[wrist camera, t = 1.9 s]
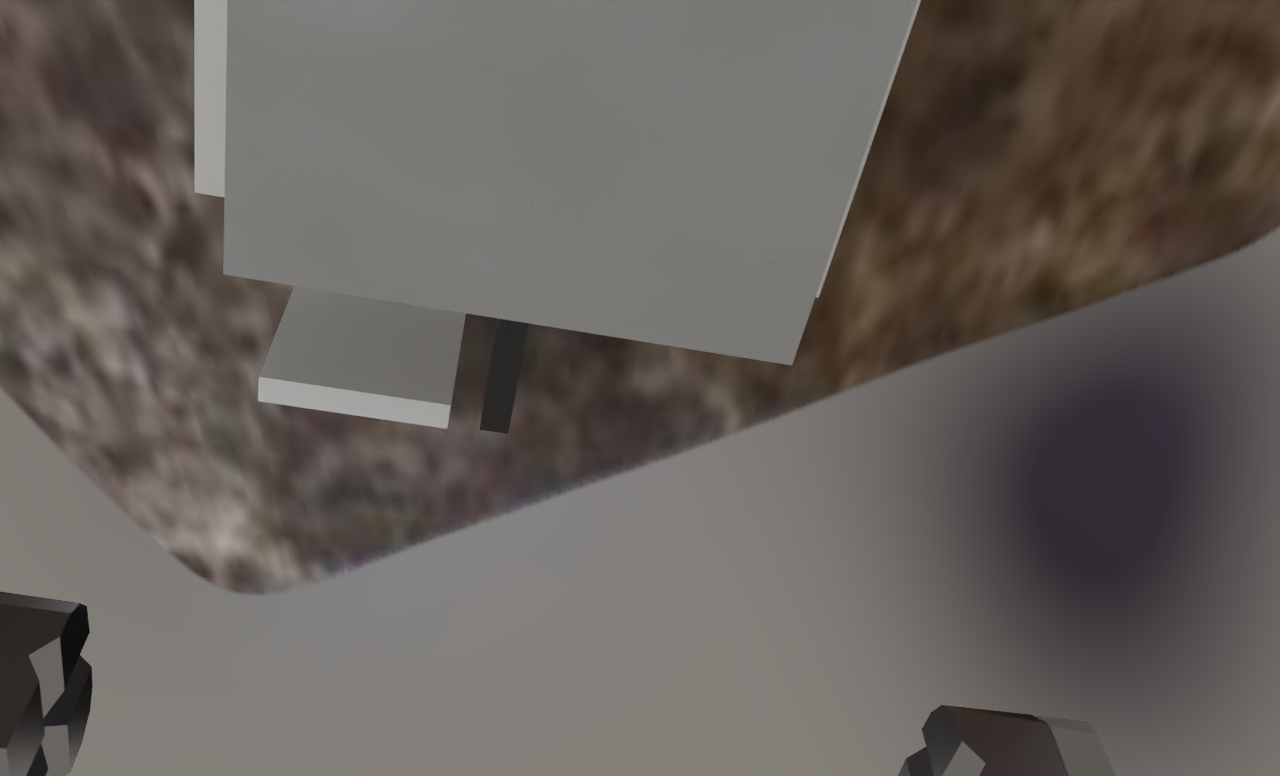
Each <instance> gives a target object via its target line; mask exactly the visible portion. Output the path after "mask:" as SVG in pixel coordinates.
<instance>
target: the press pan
mask: <svg viewBox="0 0 1280 776" xmlns="http://www.w3.org/2000/svg"><path fill="white" fill-rule="evenodd" d="M916 2H917V0H227V63H226V131H225V199H224V267H223V274H224V275H230V276H236V277H242V278H249V279H255V280H261V281H267V282H274V283H280V284H286V285H292V286H299V287H305V288H311V289H317V290H324V291H330V292H336V293H342V294H349V295H355V296H361V297H367V298H374V299H380V300H386V301H392V302H399V303H405V304H411V305H417V306H424V307H430V308H436V309H442V310H449V311H455V312H461V313H467V314H474V315H480V316H486V317H492V318H498V322H497V328H496V334H495V340H494V346H493V352H492V358H491V364H490V370H489V376H488V382H487V387H486V393H485V399H484V405H483V411H482V417H481V425H480V430H487V431H494V432H500V433H507V434H508V431H509V426H510V420H511V415H512V410H513V404H514V399H515V393H516V388H517V383H518V377H519V372H520V367H521V361H522V356H523V351H524V345H525V340H526V335H527V329H528V324H529V323H530V324H536V325H542V326H549V327H555V328H561V329H567V330H574V331H580V332H586V333H592V334H599V335H605V336H611V337H617V338H624V339H630V340H636V341H642V342H649V343H655V344H661V345H667V346H674V347H680V348H686V349H692V350H699V351H705V352H711V353H717V354H724V355H730V356H736V357H742V358H749V359H755V360H761V361H767V362H774V363H780V364H786V365H792V364H793V361H794V358H795V355H796V352H797V349H798V346H799V343H800V340H801V338H802V335H803V332H804V329H805V326H806V323H807V320H808V317H809V314H810V311H811V308H812V305H813V303H814V300H815V297H816V294H817V291H818V288H819V285H820V282H821V279H822V276H823V273H824V270H825V267H826V265H827V262H828V259H829V256H830V253H831V250H832V247H833V244H834V241H835V238H836V235H837V232H838V230H839V227H840V224H841V221H842V218H843V215H844V212H845V209H846V206H847V203H848V200H849V197H850V195H851V192H852V189H853V186H854V183H855V180H856V177H857V174H858V171H859V168H860V165H861V162H862V159H863V157H864V154H865V151H866V148H867V145H868V142H869V139H870V136H871V133H872V130H873V127H874V124H875V122H876V119H877V116H878V113H879V110H880V107H881V104H882V101H883V98H884V95H885V92H886V89H887V87H888V84H889V81H890V78H891V75H892V72H893V69H894V66H895V63H896V60H897V57H898V54H899V51H900V49H901V46H902V43H903V40H904V37H905V34H906V31H907V28H908V25H909V22H910V19H911V16H912V14H913V11H914V8H915V5H916Z"/></svg>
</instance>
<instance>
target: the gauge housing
mask: <svg viewBox="0 0 1280 776" xmlns="http://www.w3.org/2000/svg"><path fill="white" fill-rule="evenodd" d="M920 2H921V0H917V2H916V5H915V8H914V11H913V14H912V16H911V19H910V22H909V25H908V28H907V31H906V34H905V37H904V40H903V43H902V46H901V49H900V51H899V54H898V57H897V60H896V63H895V66H894V69H893V72H892V75H891V78H890V81H889V84H888V87H887V89H886V92H885V95H884V98H883V101H882V104H881V107H880V110H879V113H878V116H877V119H876V122H875V124H874V127H873V130H872V133H871V136H870V139H869V142H868V145H867V148H866V151H865V154H864V157H863V159H862V162H861V165H860V168H859V171H858V174H857V177H856V180H855V183H854V186H853V189H852V192H851V195H850V197H849V200H848V203H847V206H846V209H845V212H844V215H843V218H842V221H841V224H840V227H839V230H838V232H837V235H836V238H835V241H834V244H833V247H832V250H831V253H830V256H829V259H828V262H827V265H826V267H825V270H824V273H823V276H822V279H821V282H820V285H819V288H818V291H817V294H816V297H817V298H819V295H820V292H821V289H822V287H823V284H824V281H825V278H826V275H827V272H828V269H829V266H830V263H831V260H832V257H833V255H834V252H835V249H836V246H837V243H838V240H839V237H840V234H841V231H842V228H843V226H844V223H845V220H846V217H847V214H848V211H849V208H850V205H851V202H852V199H853V197H854V194H855V191H856V188H857V185H858V182H859V179H860V176H861V173H862V170H863V167H864V165H865V162H866V159H867V156H868V153H869V150H870V147H871V144H872V141H873V138H874V136H875V133H876V130H877V127H878V124H879V121H880V118H881V115H882V112H883V109H884V107H885V104H886V101H887V98H888V95H889V92H890V89H891V86H892V83H893V80H894V78H895V75H896V72H897V69H898V66H899V63H900V60H901V57H902V54H903V51H904V48H905V46H906V43H907V40H908V37H909V34H910V31H911V28H912V25H913V22H914V19H915V17H916V14H917V11H918V8H919V5H920ZM226 63H227V0H194V67H195V193H201V194H207V195H213V196H219V197H225V131H226ZM465 316H466V313H461V312H455V311H449V310H442V309H436V308H430V307H424V306H417V305H411V304H405V303H399V302H392V301H386V300H380V299H374V298H367V297H361V296H355V295H349V294H342V293H336V292H330V291H324V290H317V289H311V288H305V287H299V286H294V288H293V290H292V293H291V296H290V298H289V301H288V303H287V306H286V308H285V311H284V313H283V316H282V319H281V321H280V324H279V326H278V329H277V331H276V334H275V337H274V339H273V342H272V344H271V347H270V349H269V352H268V354H267V357H266V360H265V362H264V365H263V367H262V370H261V372H260V375H259V385H258V401H261V402H267V403H274V404H281V405H288V406H295V407H302V408H308V409H315V410H322V411H329V412H336V413H343V414H350V415H356V416H363V417H370V418H377V419H384V420H391V421H397V422H404V423H411V424H418V425H425V426H432V427H439V428H445V429H447V427H448V421H449V414H450V408H451V402H452V396H453V390H454V384H455V378H456V372H457V365H458V359H459V353H460V347H461V341H462V335H463V329H464V322H465Z"/></svg>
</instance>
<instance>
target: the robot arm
mask: <svg viewBox="0 0 1280 776" xmlns="http://www.w3.org/2000/svg"><path fill="white" fill-rule="evenodd" d="M89 633H90V631H89V622H88V612H87V606H85V605H83V604H81V603H74V602H68V601H61V600H54V599H47V598H40V597H33V596H26V595H20V594H13V593H5V592H0V776H66V775H67V774H68V773H70V772H71V769H72V767H73V764H74V762H75V759H76V757H77V754H78V752H79V749H80V746H81V744H82V740H83V736H84V732H85V728H86V724H87V720H88V717H89V712H90V705H91V695H92V667H91V666H90V665H89V664H88V663H87V662H86V661H85V660H84V659H83V658H82V657H81V656H80V653H81V651H82V649H83V646H84V644H85V642H86V639H87V637H88V635H89ZM922 732H923V736H924V740H925V743H926V747H925V748H923V749H922V750H920V751H918V752H916V753H915V754H913V755H911V756H909V757H908V758H906V760H905V762H904V764H903V766H902V768H901V770H900V772H899V775H898V776H1115V773H1114V771H1113V769H1112V766H1111V764H1110V762H1109V759H1108V757H1107V755H1106V752H1105V750H1104V748H1103V745H1102V743H1101V741H1100V739H1099V736H1098V734H1097V732H1096V731H1095V729H1093V727H1092V726H1091V725H1090V724H1089V723H1088V722H1085V721H1077V720H1068V719H1060V718H1050V717H1042V716H1037V717H1035V716H1033V715H1029V714H1020V713H1011V712H1002V711H991V710H983V709H974V708H964V707H955V706H945V705H941V706H940V707H938V708H937V709H935V710H934V711H932V712H931V713H930V715H929V717H928V719H927V721H926V722H925V724H924V726H923V728H922Z"/></svg>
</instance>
